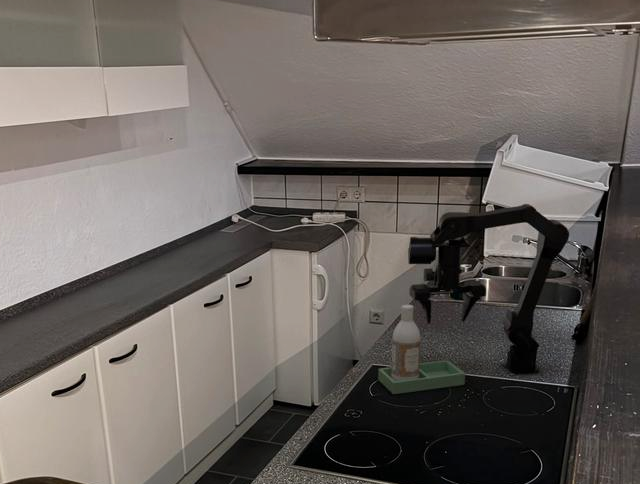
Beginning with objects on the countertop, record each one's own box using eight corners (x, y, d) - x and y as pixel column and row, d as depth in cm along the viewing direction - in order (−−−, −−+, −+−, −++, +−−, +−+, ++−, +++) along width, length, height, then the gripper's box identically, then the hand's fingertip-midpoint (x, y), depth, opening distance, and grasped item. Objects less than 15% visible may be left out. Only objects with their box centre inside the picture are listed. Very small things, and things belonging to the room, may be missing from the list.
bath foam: (399, 388, 190) (402, 311, 183) (386, 378, 196) (388, 304, 189) (423, 384, 192) (427, 308, 185) (410, 374, 198) (412, 300, 191)
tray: (446, 370, 202) (447, 359, 201) (464, 384, 193) (465, 373, 192) (378, 379, 198) (378, 368, 197) (393, 394, 189) (393, 382, 188)
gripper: (473, 254, 202) (469, 311, 207) (404, 258, 200) (402, 315, 205) (489, 264, 191) (484, 323, 197) (416, 268, 189) (414, 328, 195)
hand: (445, 322), depth 199 cm, fingers open, 9 cm apart
